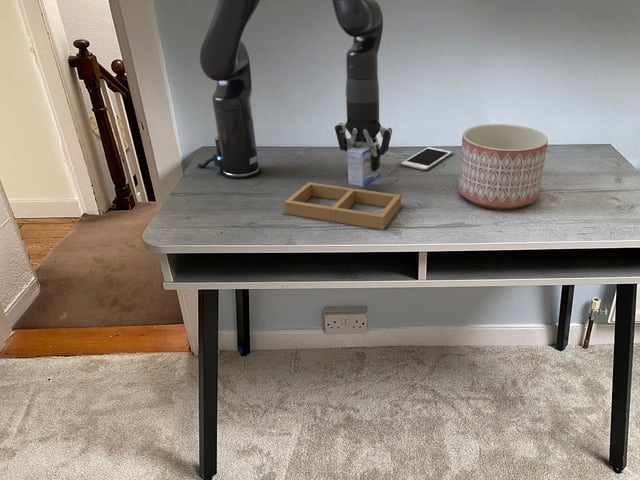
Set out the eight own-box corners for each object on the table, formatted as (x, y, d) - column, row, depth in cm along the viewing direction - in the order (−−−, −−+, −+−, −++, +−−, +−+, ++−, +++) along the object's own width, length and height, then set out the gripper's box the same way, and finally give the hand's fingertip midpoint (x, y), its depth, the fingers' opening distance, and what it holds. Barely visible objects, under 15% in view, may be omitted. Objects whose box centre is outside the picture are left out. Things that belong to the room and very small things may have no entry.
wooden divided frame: (285, 213, 125) (284, 201, 124) (309, 193, 135) (308, 181, 134) (383, 229, 119) (383, 217, 117) (401, 207, 129) (401, 195, 127)
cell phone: (400, 165, 151) (400, 163, 151) (428, 148, 163) (428, 146, 163) (425, 170, 148) (426, 168, 148) (452, 153, 160) (452, 151, 159)
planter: (514, 178, 144) (522, 121, 136) (553, 207, 129) (564, 145, 121) (446, 185, 140) (450, 127, 132) (477, 217, 124) (484, 153, 116)
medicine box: (363, 188, 132) (362, 153, 128) (347, 184, 134) (346, 149, 130) (380, 177, 138) (380, 143, 133) (365, 174, 140) (365, 140, 135)
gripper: (397, 96, 126) (396, 167, 136) (340, 91, 130) (342, 160, 140) (387, 104, 120) (386, 178, 130) (326, 98, 124) (330, 170, 134)
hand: (364, 168), depth 135 cm, fingers closed on medicine box, 5 cm apart
